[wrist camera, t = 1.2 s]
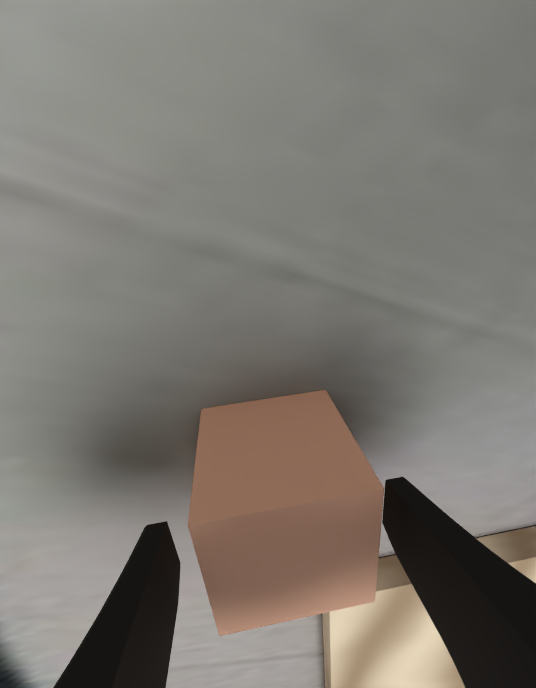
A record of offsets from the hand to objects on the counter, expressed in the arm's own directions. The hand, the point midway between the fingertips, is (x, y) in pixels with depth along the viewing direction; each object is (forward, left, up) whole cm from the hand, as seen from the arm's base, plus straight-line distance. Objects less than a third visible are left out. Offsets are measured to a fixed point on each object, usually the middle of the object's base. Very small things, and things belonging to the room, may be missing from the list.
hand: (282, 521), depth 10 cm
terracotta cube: (0, 0, -4) cm, 4 cm away
